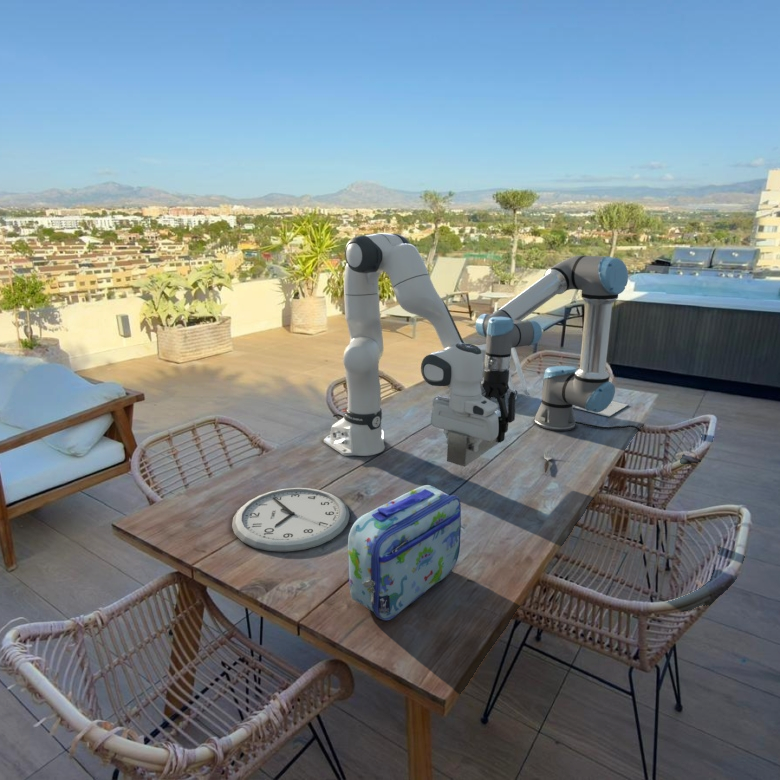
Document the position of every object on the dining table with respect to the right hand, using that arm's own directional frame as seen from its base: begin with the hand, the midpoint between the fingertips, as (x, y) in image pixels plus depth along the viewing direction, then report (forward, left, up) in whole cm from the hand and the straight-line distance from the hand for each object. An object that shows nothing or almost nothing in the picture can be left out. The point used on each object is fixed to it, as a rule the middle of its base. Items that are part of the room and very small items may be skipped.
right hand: (491, 438), depth 166 cm
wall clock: (+53, +41, -9) cm, 68 cm away
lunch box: (+21, +65, -9) cm, 69 cm away
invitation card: (-52, -66, -9) cm, 85 cm away
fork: (-19, -3, -9) cm, 21 cm away
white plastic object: (0, -78, -9) cm, 79 cm away
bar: (+5, +8, 0) cm, 10 cm away
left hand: (+10, +17, +4) cm, 20 cm away
